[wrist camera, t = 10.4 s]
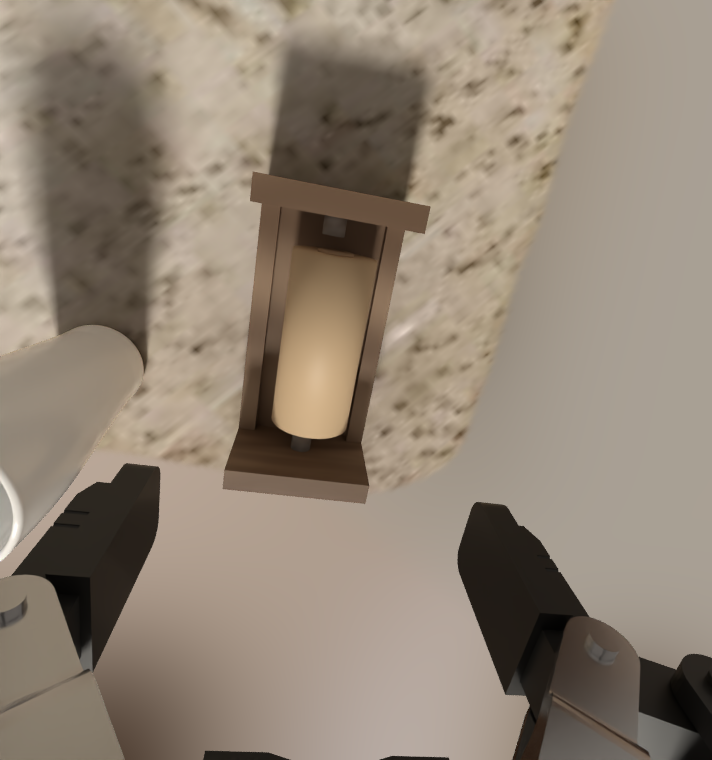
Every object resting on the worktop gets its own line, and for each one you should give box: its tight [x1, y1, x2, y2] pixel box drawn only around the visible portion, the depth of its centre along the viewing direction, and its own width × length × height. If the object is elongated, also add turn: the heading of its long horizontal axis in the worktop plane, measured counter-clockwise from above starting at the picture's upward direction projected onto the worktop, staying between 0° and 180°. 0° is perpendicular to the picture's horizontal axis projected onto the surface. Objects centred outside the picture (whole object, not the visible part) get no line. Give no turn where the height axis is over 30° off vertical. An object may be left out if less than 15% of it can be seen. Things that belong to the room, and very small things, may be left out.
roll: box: [271, 246, 378, 439], centre depth 27 cm, size 10×5×5 cm, turn 170°
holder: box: [223, 172, 430, 504], centre depth 27 cm, size 16×8×7 cm, turn 170°
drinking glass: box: [0, 325, 144, 562], centre depth 23 cm, size 7×7×15 cm
